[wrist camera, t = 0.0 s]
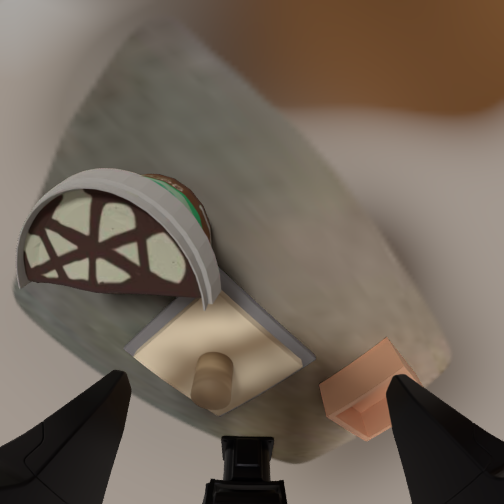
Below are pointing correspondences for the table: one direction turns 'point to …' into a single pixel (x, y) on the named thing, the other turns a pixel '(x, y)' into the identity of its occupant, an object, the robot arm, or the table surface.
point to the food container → (120, 237)
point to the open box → (364, 390)
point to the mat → (246, 304)
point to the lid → (217, 355)
